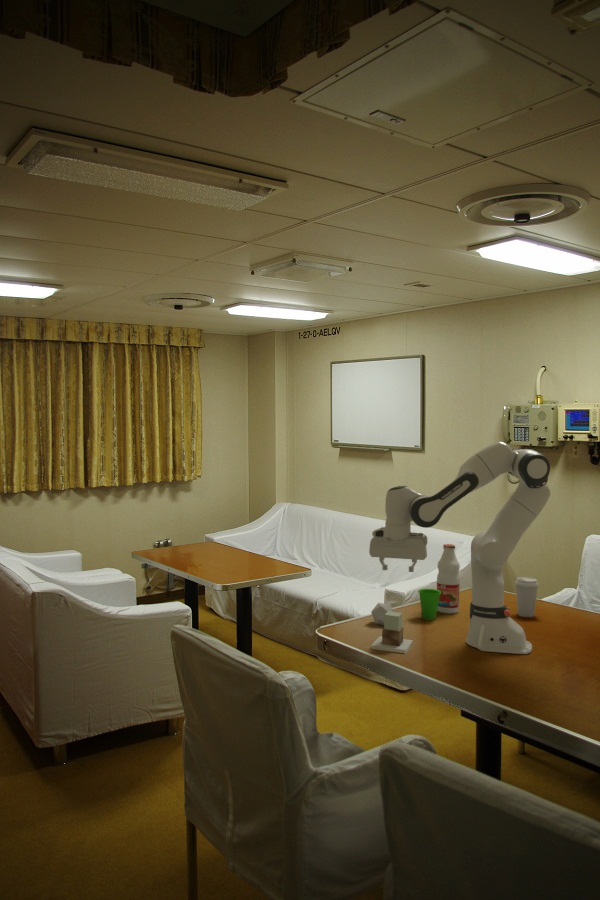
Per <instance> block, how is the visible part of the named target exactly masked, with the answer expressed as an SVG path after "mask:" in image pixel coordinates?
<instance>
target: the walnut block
mask: <svg viewBox="0 0 600 900" xmlns="http://www.w3.org/2000/svg"><path fill="white" fill-rule="evenodd" d="M381 636H382V644H388V645H395V646H400V644H401V643H402V642H403V639H404V626H402V627H401V628H400V630H399V631H395V630H387V629H384V627H383V628H382V632H381Z"/></svg>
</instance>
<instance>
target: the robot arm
mask: <svg viewBox="0 0 600 900" xmlns="http://www.w3.org/2000/svg"><path fill="white" fill-rule="evenodd" d="M505 473H509V474H510V475H511V476H513V477H515V478H516V479H518V480H519V482H518V487H517V489H516V490H515V492H514V493H513V494H512V495H511V496H510V497H509V499H508V500H507V501H506V503H505V504H504V505H503V506H502V507H501V508H500V510H499V511H498V512H497V514H496V515H495V516H494V517H495V518H494V519H493V521H492V523H491V525H490V526H489V527H488V529H487V531H482V532H479V533H477V534H476V535H475V536H474V537H473V538H472V540H471V544H470V565H471V567H470V569H471V602H470V603H469V619H470V620H469V627H468V632H467V636H466V638H465V643H466V644H467V645H469V646H470V647H473V648H476V649H478V650H479V651H481V652H492V653H505V654H515V655H516V654H517V655H528V654H530V653H532V650H533V645H532V643H531V642H530V641H528V640H527V639H526V638H527V637H526V633H525V631H524V628H523V627H522V626H521V625H520V624H518V622H516V621H515V620H514V619H513V618H511V617H510V615H511V608H510V607H509V606H506V605H505V604H504V603H505V580H504V568H503V567H504V566H505V565H506V563H507V562H508V559H509V558H510V556H511V554H512V553H513V551H514V550H515V548H516V547H517V544H518V543H519V541H520V540H521V538H522V536H523V535H524V534H525V532H526V531H527V530H528V528H529V527H530V526H531V525H532V524H533V522H534V521H535V520H536V518H537V517H538V516H539V515H540V513H541V512H542V510H543V509H544V507H545V506H546V505H547V502H548V501H549V498H550V497H551V489H550V487H549V486H548V485H547V484H548V480H549V476H550V473H551V463H550V461H549V459H548V458H547V457H546V455H544V454H543V453H541V452H538V451H536V450H534V449H526V448H513V449H512V447H511V446H510V445H509V444H507V443H505V442H503V441H497V442H494V443H492V444H490V445H488V446H486V447H484V448H482V449H480V450H479V451H477V452H476V453H474V454H473V455H472V456H470V457H469V458H468V459H467V460H466V461H464V463H462V465H461V466H460V467H459V471H458V473H457V475H456V477H455V478H454V479H453V480H452V482H450V483H449V484H448V485H446V486H444V487H443V488H442V489H440V490H439V491H438V492H436V493H435V494H434V495H431V496H428V495H425V494H422V493H419V492H417V491H415V490H413V489H412V488H410V487H409V486H407V485H399V486H393V487H391V488H389V489H388V491H386V495H385V506H384V507H385V509H384V511H385V515H386V518H385V526H383V527H380V528H377V529H374V530H373V531H372V534H371V535H372V538H371V539H370V541H369V542H370V543H369V551H368V552H369V556H370V557H372V558H378V559H379V563H380V564H381V566H382V568H381V569H382V571H388V570H389V569H388V567H389V565H388V564H386V563H385V559H398V560H400V559H401V560H411V563H412V564H411V565H410V566H409V565H408V572H409V573H414V571H415V565H416V564H417V562H418V561H424V560H425V559H426V558H427V557H428V551H427V544H428V537H427V535H426V534H424V533H422V532H411V531H412V530H411V522H413V523H414V524H415V525H416V526H418V527H420V528H425V529H426V528H431V527H434V526H436V525H437V524H438V523H439V521H440V520H441V518H442V516H443V515H444V513H445V512H446V511H447V510H449V508H450V507H452V506H453V505H455V504H456V503H458V502H459V501H460V500H461V499H463V498H464V497H465V496H467V495H468V494H470V493H472V492H474V491H476V490H479V489H481V488H483V487H485V486H487V485H488V484H490V483H491V482H493V481H494V480H496V479H497V478H499V477H500V476H501V475H503V474H505Z"/></svg>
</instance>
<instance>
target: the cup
mask: <svg viewBox="0 0 600 900" xmlns="http://www.w3.org/2000/svg"><path fill="white" fill-rule="evenodd" d="M418 593H419V594H418V595H419V601H420V608H421V609H420V610H421V617H422V619H423V618H424V619H423V620H426V619H428V620H427V621H434V620H436V618H437V612H438V611H437V608H438V602H439V597H440V593H441V591H439V590H437V589H434V588H422V589H419V590H418Z"/></svg>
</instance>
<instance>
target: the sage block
mask: <svg viewBox="0 0 600 900" xmlns="http://www.w3.org/2000/svg"><path fill="white" fill-rule="evenodd" d="M402 620H403V613H402V612H395V611H393V612H389V611H388V612H387V613H386V614H385V615H384V625H383V628H384V629H387V630H395V631H399V630H400V628H401V627H403V625H402V624H403V622H402Z"/></svg>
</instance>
